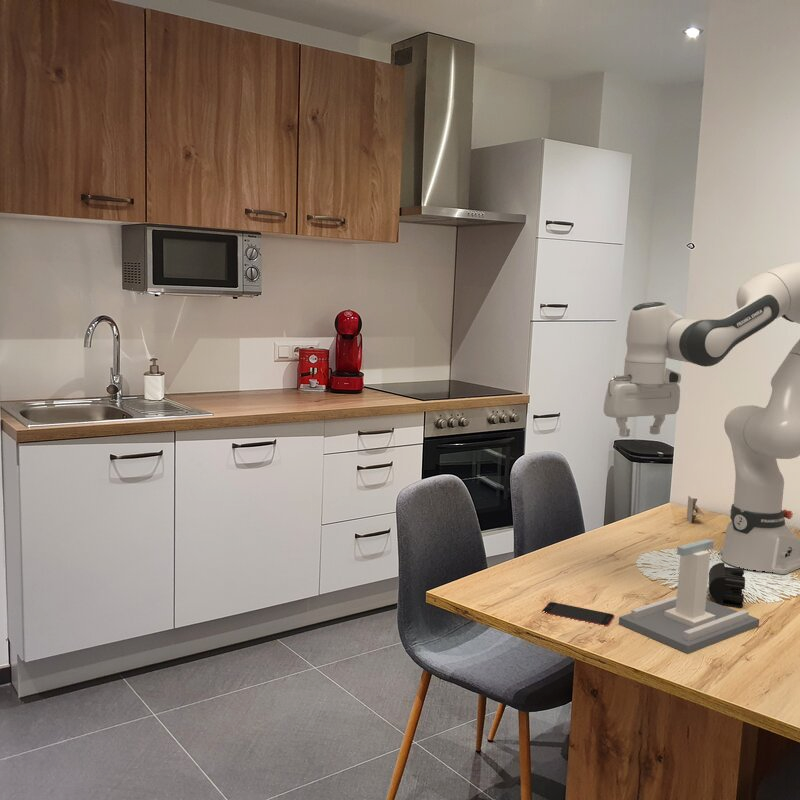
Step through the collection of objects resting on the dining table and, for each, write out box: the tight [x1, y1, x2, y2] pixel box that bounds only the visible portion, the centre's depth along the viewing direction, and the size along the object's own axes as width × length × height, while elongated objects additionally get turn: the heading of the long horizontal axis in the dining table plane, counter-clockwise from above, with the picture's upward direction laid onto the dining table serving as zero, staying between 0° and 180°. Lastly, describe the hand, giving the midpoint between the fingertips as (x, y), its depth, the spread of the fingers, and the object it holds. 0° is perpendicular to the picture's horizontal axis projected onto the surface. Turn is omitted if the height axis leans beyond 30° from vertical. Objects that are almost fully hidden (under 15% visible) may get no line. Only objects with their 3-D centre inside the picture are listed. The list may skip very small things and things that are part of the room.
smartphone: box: [541, 601, 615, 627], centre depth 172 cm, size 7×1×14 cm
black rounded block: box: [708, 562, 746, 609], centre depth 183 cm, size 10×7×7 cm
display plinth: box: [618, 595, 760, 654], centre depth 168 cm, size 24×16×3 cm, turn 126°
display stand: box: [664, 538, 716, 628], centre depth 167 cm, size 7×10×16 cm
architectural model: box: [686, 495, 706, 524], centre depth 244 cm, size 3×7×7 cm, turn 173°
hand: (639, 435), depth 189 cm, fingers open, 8 cm apart
